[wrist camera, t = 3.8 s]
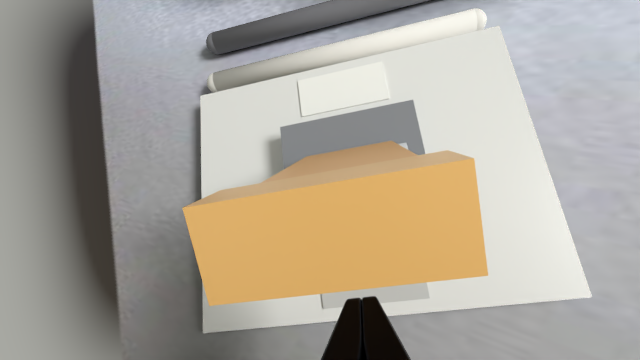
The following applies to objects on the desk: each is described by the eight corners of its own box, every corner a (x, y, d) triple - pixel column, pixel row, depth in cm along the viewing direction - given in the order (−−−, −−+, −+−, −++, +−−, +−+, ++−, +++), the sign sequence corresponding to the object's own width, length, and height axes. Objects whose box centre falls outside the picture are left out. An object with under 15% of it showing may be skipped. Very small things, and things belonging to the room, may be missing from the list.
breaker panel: (575, 294, 14) (614, 301, 12) (215, 328, 17) (187, 339, 15) (492, 40, 18) (508, 6, 16) (210, 104, 21) (188, 84, 18)
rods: (465, -23, 19) (471, -44, 18) (485, 37, 18) (493, 19, 17) (212, 44, 22) (201, 30, 21) (214, 100, 21) (202, 89, 20)
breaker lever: (408, 170, 14) (510, 273, 5) (303, 188, 15) (194, 307, 5) (403, 133, 14) (496, 154, 4) (295, 153, 15) (166, 210, 5)
